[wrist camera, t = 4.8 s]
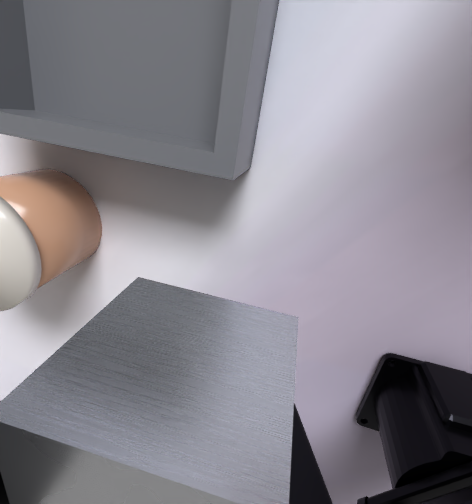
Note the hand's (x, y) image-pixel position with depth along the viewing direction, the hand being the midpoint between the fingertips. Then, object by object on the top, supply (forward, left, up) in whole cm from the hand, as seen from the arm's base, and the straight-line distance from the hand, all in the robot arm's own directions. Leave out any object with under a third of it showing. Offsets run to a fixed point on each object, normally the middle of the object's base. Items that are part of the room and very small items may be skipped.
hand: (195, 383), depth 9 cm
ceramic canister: (-1, +14, -11) cm, 18 cm away
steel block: (0, 0, -1) cm, 1 cm away
